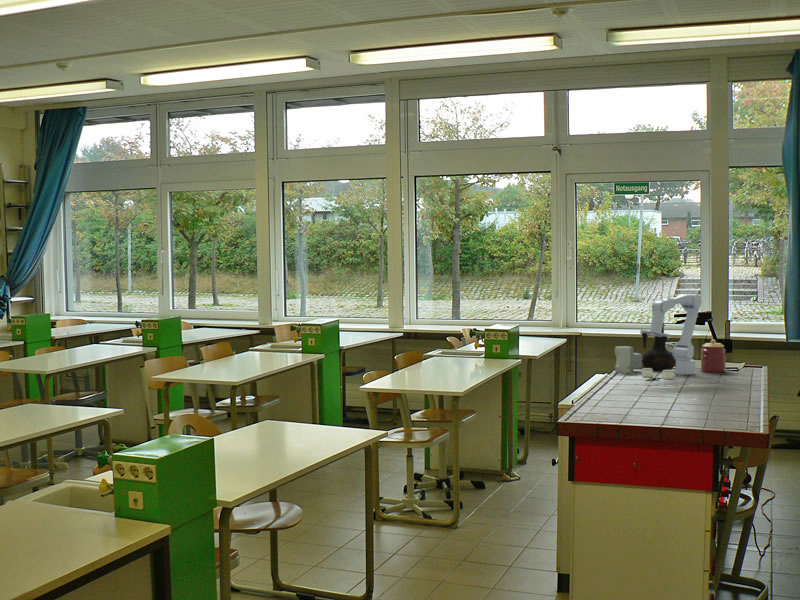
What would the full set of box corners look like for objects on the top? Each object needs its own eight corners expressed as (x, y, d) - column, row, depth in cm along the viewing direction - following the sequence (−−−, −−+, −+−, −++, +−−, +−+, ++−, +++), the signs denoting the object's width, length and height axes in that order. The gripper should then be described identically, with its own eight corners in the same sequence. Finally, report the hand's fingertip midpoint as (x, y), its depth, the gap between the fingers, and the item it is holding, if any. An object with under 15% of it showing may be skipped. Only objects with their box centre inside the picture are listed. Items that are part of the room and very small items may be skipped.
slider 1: (649, 375, 425) (649, 367, 425) (652, 376, 421) (652, 368, 421) (642, 375, 424) (642, 368, 424) (645, 376, 420) (645, 369, 420)
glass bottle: (635, 371, 453) (634, 321, 452) (659, 369, 461) (659, 319, 460) (657, 375, 437) (657, 323, 436) (682, 372, 445) (682, 321, 444)
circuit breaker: (644, 375, 437) (644, 347, 437) (618, 375, 438) (618, 347, 437) (641, 373, 445) (640, 346, 444) (614, 373, 445) (614, 346, 445)
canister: (701, 372, 445) (701, 340, 444) (699, 369, 457) (699, 338, 457) (726, 373, 441) (727, 340, 440) (724, 369, 454) (724, 338, 453)
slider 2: (669, 377, 416) (669, 369, 416) (673, 378, 412) (673, 370, 412) (662, 377, 416) (662, 369, 416) (665, 378, 412) (665, 371, 412)
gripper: (641, 320, 417) (636, 346, 415) (670, 324, 410) (665, 351, 409) (643, 322, 423) (638, 348, 421) (672, 327, 417) (667, 353, 415)
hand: (652, 349), depth 415 cm, fingers open, 7 cm apart
